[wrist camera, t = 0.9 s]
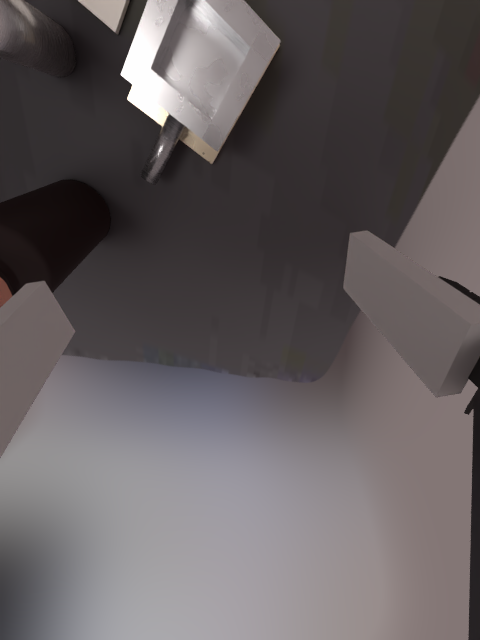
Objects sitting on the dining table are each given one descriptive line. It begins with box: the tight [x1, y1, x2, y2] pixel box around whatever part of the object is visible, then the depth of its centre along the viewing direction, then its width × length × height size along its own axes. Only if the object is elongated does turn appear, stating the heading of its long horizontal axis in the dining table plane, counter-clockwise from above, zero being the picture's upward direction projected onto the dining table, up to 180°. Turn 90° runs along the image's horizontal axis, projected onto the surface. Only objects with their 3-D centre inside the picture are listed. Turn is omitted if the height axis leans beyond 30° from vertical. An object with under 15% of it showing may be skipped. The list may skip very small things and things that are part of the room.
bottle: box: [0, 180, 111, 308], centre depth 23 cm, size 7×7×20 cm
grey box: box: [121, 0, 280, 185], centre depth 23 cm, size 9×16×8 cm, turn 144°
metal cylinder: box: [0, 0, 76, 77], centre depth 18 cm, size 4×4×13 cm
